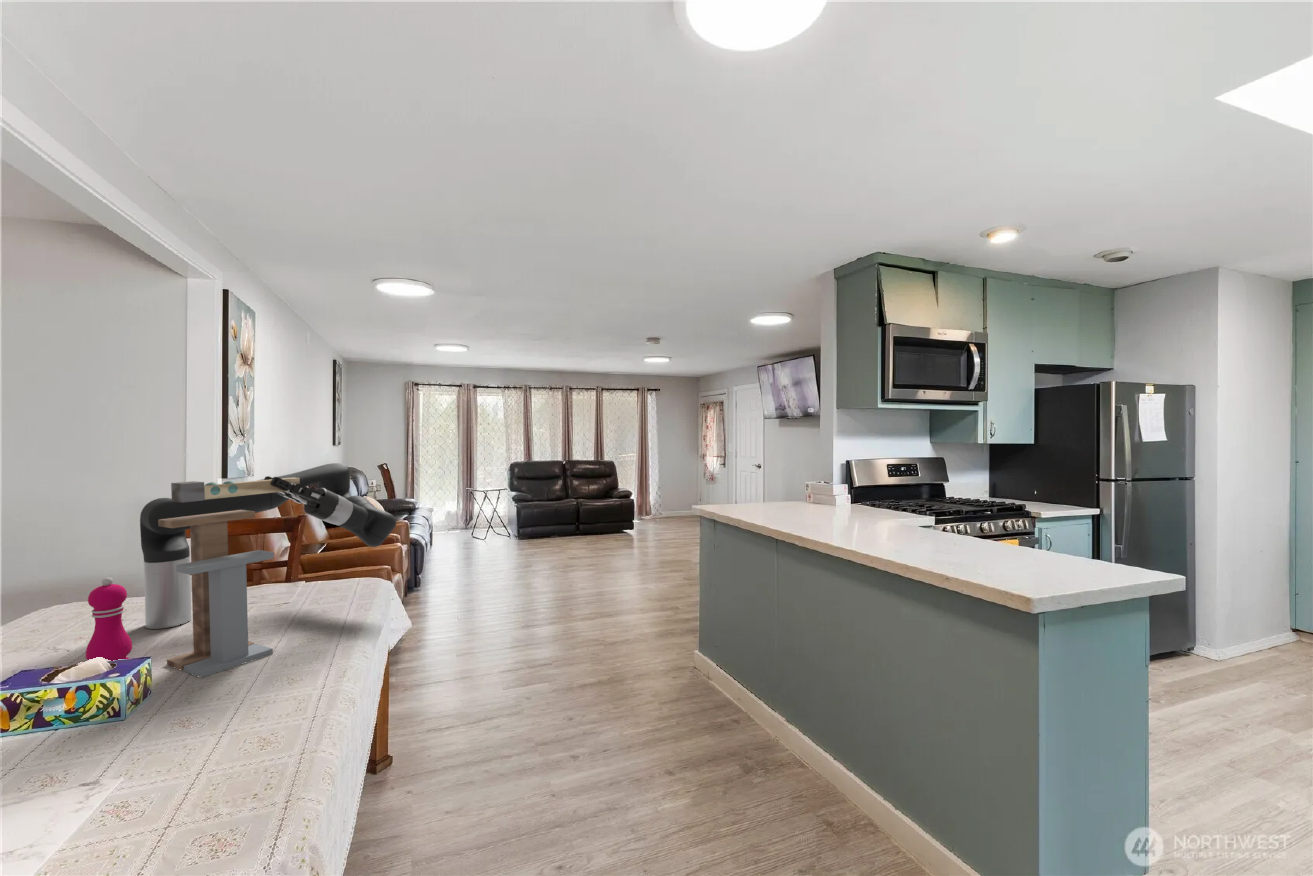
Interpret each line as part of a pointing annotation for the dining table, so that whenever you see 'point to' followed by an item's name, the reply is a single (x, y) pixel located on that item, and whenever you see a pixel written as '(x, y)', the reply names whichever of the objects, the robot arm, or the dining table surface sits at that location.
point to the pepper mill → (108, 622)
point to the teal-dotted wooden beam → (222, 489)
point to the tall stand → (205, 544)
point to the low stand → (227, 611)
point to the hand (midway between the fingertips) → (269, 480)
